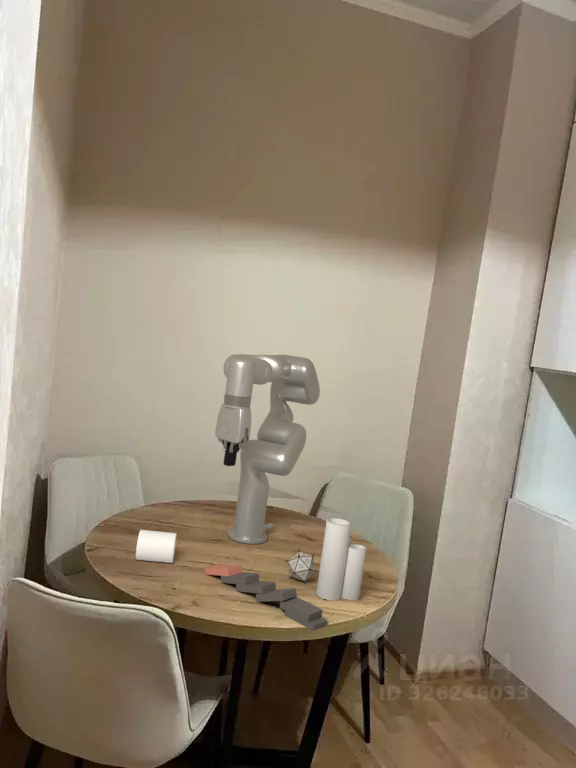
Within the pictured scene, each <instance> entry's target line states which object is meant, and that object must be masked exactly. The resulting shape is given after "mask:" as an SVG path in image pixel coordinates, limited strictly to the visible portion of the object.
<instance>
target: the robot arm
mask: <svg viewBox="0 0 576 768" xmlns="http://www.w3.org/2000/svg"><path fill="white" fill-rule="evenodd" d="M223 374H224V375H225V377H226V384H225V391H224V392H225V393H224V395H223V403H222V404H221V406H220V408H219V413H218V415H217V419H216V425H215V433H214V434H215V437H216V438H217V439H218V442H220V443H221V444H222V445H223V446H222V447H223V451H224V457H223V462H222V463H223V464H222V465H224V466H226V467H234V466H236V462H237V457H238V456H237V454H238V453H239V452H240V453H239V455H240V456H239V457H240V478H239V483H238V485H239V486H238V494H237V502H236V508H235V509H236V510H235V515H234V521H233V522H234V525H233V528H231V529H229V530H228V531H227V536H228V537H229V539H231V540H232V541H234V542H237V543H241V544H246V545H247V544H248V545H249V544H250V545H259V544H263V543H266V542H267V540H268V535H267V534H266V532H267V530H272V529H273V528H274V524H273V523H272V522H271V523H265V521H266V514H267V507H268V498H269V492H270V483H269V479H268V477H267V475H266V474H271V475H276V476H279V477H286V476H288V475H290V474H291V473H292V471H293V469H294V467H295V465H296V463H297V462H298V459H299V458H300V456H301V454H302V452H303V450H304V447H305V446H306V442H307V430H306V428H305V427H304V426H303V425H302V424H300V423H296V422H293V421H294V413H293V411H292V408H291V407H290V406H289V404H288V403H287V402H290V403H294V404H295V403H297V404H301V405H309V406H311V405H312V406H313V405H314V404H316V403H317V401H319V398H320V394H321V388H320V387H321V386H320V382H319V378H318V375H317V370H316V368H315V365H314V363H313V362H312V360H311V359H310V358H307V357H302V356H295V355H289V354H267V355H266V354H231V355H230V356H228V357H227V358H226V359H225V361H224V364H223ZM267 383H271V384H270V390H269V403H270V409H269V412H268V414H267V415H266V417H265V418H264V420H263V422H262V423H261V425H260V426H259V428H258V431H257V436H256V439H251V430H252V429H251V428H252V409H251V404H252V398H253V397H252V395H253V387H254V385H259V386H260V385H261V386H262V385H265V384H267Z"/></svg>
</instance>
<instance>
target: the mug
mask: <svg viewBox="0 0 576 768" xmlns="http://www.w3.org/2000/svg"><path fill="white" fill-rule="evenodd" d="M137 535H138V537H137V542H136V546H135V547H136V548H135V549H136V550H135V559H136V560H138V561H146V562H148V561H149V562H158V563H169V564H172V563H173V562H174V560H175V553H176V547H177V545H176V544H177V535H178V534H177V533H176V532H169V531H168V532H167V531H157V530H147V529H140V530H139V533H138V534H137Z"/></svg>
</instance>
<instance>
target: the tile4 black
mask: <svg viewBox="0 0 576 768" xmlns="http://www.w3.org/2000/svg"><path fill="white" fill-rule="evenodd" d="M297 595H298V594H297V589H296V588H295V587H294V588H279V589H277V588H276V590H273V591H270V592H267V593H264V594H258V593H255V598H256V599H255V600H256V603H257V602H281V601H284V600H287V599H290V598H292V597H295V596H296V597H298V596H297Z"/></svg>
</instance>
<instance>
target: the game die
mask: <svg viewBox="0 0 576 768" xmlns="http://www.w3.org/2000/svg"><path fill="white" fill-rule="evenodd" d="M297 551H298V552H296V553H295V554H294V555H293V556H292V557H291V558H290V559H288V560H287V559H285V560H284V561H285V563H287V566H288V569H289V573H290V576H289V577H288V578H290V579H292V578H294V579H297V580H299V581H302V582H303V584H304V585H305V584H307V581H308V579H310V578H311V577H312V576H313V575H314V574H315V573H319V570H317V568H316V563H315V560H314V557H315V556H316V555H315V554H316V553H313V554H312V555H311V554H309V553H305V552H302V551H301V550H300V548H297Z"/></svg>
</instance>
